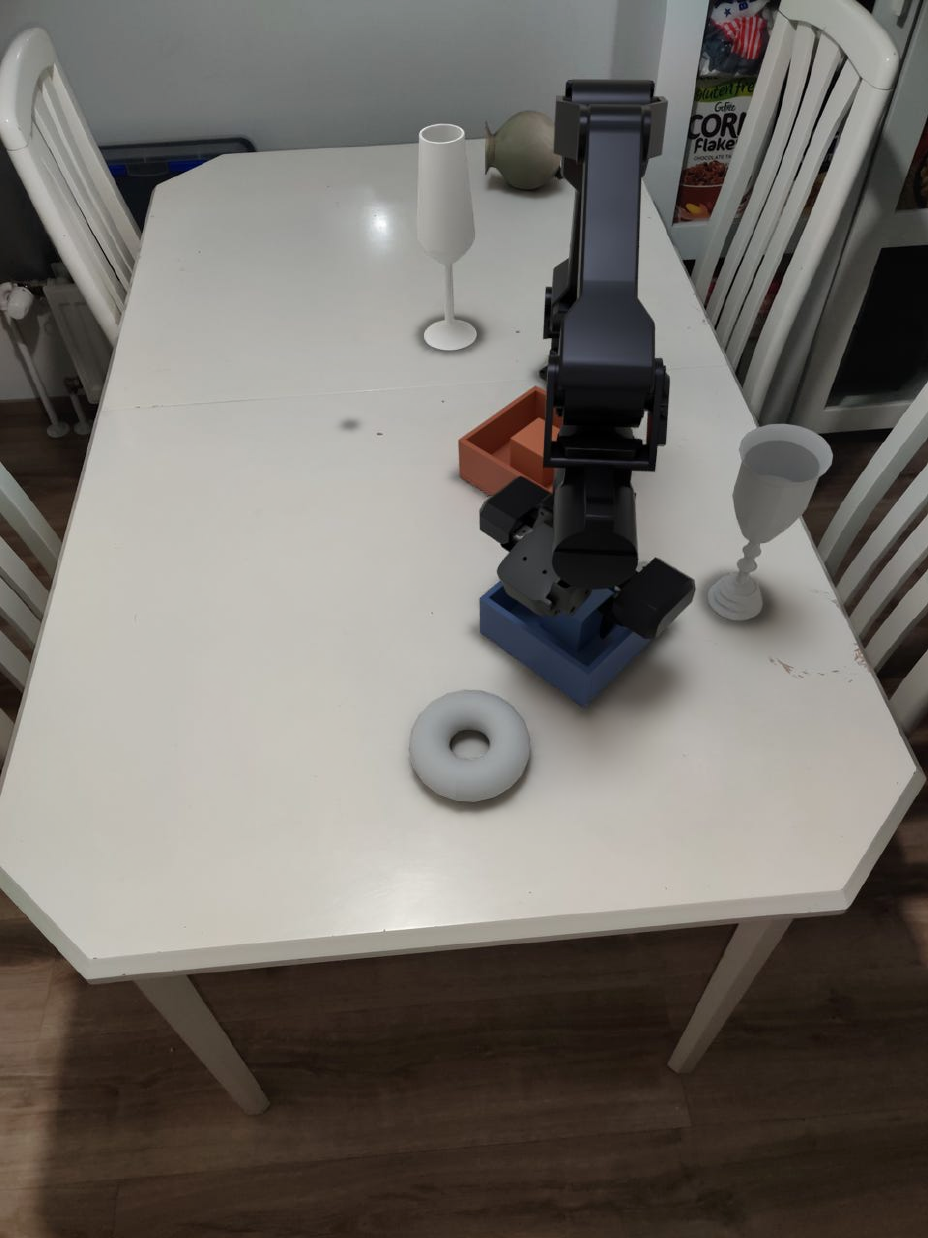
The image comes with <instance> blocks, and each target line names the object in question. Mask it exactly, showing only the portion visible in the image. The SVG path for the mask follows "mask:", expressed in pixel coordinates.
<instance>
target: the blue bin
mask: <svg viewBox="0 0 928 1238" xmlns="http://www.w3.org/2000/svg"><path fill="white" fill-rule="evenodd" d="M607 589H609V590H610V591H612V592H613V594H614V593H615V592H614V587H610V588H607ZM478 600H479V601H478V602H479V603H478V604H479V605H478V606H479V607H478V608H479V633H480V634H482V635H483V636H484V637H486V638H487V639H488V640H490V641H491V642H492V643H494V644H495V645H496V646H498V648H499V647H500V649H502V650H504V651H505V652H506V653H508V654H509V655H510V656H512V657H513V658H515V659H516V660H517V661H519V662H520V663H521V664H523V665H524V666H525V667H526V668H528V669H530V670H531V671H532V672H534V673H535V674H537V676H539V677H540V678H542V679H543V680H545V682H547V683H548V684H550V685H551V686H552V687H554V688H555V689H556V690H558V691H559V692H561V693H562V694H564V696H566V697H567V698H569V699H570V700H571V701H573V702H574V703H575V704H577V705H579V706H580V707H581V708H583V709H584V708H585V707H586V706H588V704H589V703H590V702H592V700H593V699H594V698H595V697H596V696H597V695H598V694H599V693H600V692H601V691H603V690H604V688H606V687H607V685H608V684H609V683H610V682H612V681H613V679H615V677H617V676H618V674H619V673H621V671H623V669H624V668H625V667H627V666H628V664H630V663H631V662H632V660H634V659H635V658H636V657H637V655H639V654H640V653H641V652H642V651H643V650H644V649H645V648H646V646H648V645H649V644H650V643H651V642H652V641H653V640H654V639H644V638H642V637H641V636H639V635H638V634H636V633H635V632H633V631H632V630H630V629H629V628H627V627H621V626H619V625H617V626H616V627H615V628H614V630H613V631H612V632H611V633H610V634H609V635H608V636H607V637H606V638H605V639H604V640H603V639H601V638H600V632H599V633H598V634H597V635H596V636H595V637H594V638H593V639H592V640H590V641H589V642H588V643H587V644H586V645H585V646H584V647H583V648H582V649H581V650H580V651H579V652H578V653H577V652H576V651H574V650H573V649H571V648H570V647H569V646H567V645H566V644H564V643H563V642H561V641H560V640H559V639H557V638H556V637H554V636H553V635H551V634H550V633H549V632H547V631H546V630H544V629H543V628H541V627H540V616H539V615H537V614H535V613H534V612H532V611H531V610H530V609H529V608H527V607H526V606H525V605H523V604H522V603H520V602H519V601H517V600H516V599H514V598H512V597H511V596H509V595H508V594H507V592H506V590H505V588H504V586H503V585H502V583H501V581H500V580H499V581H498V582H497V583H495V584H494V585H493V586H492V587H491V588H489V589H488V590H487V591H486V592H484V593H483V594H482V595H481V596H480V597H479V598H478Z"/></svg>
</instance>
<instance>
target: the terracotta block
mask: <svg viewBox="0 0 928 1238" xmlns="http://www.w3.org/2000/svg"><path fill="white" fill-rule="evenodd" d="M544 428H545V421H544V420H543V419H541V418H537V419H536V420H535V421H533V422H532V423H530V424H529V425H528V426H526V427H525V428H524V429H522V430H521V431H520V432H518V433H517V434H516V435H514V436H513V437H511V443H510V467H512V468H514V469H515V470H517V471H519V472H520V473H522V474H523V475H525V476H527V477H528V478H530V479H532V480H533V481H535V482H537V483H538V484H540V485H542V486H543V487H546V486H547V485H549V484H550V483H551V482H553V478H554V468H543V448H544ZM559 431H560V429H559V428H557V427H555V426H553V425H552V441H556V439H557V435H558V433H559Z"/></svg>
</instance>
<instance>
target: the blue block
mask: <svg viewBox="0 0 928 1238" xmlns="http://www.w3.org/2000/svg"><path fill="white" fill-rule="evenodd" d="M612 594H613V592H612V591H610V590H609V589H607V588H606V589H598V590H592V592H591V594H590V596H589V597H588V599H587V600H586V601H585V602H584V603H583V605H582V606H581V607H580V608H579V610H578V611H577V612H576V613H575V614H574V615H573V616H570V617H568V616H566V615H565V614H564V613H559V614H558V615H557V616H556V617H554V618H553V617H551V616H550V615H548V616H540V627H541V628H543V629H544V630H546V631H547V632H549V633H550V634H551V635H553V636H554V637H556V638H557V639H559V640H560V641H561V642H563V643H564V644H566V645H567V646H569V647H570V648H571V649H573V650H574V651H576V652H577V653H578V652H579V651H580V650H581V649H582V648H583V647H584V646H585V645H586V644H587V643H588V642H589V641H590V640H592V639H593V638H594V637H595V636H596V635H597V634H598V633H599V632H600V625H601V621H602V616H603V614H601V613H600V612H598V611H597V608H598V607H599V606H601V605H602V604H603V603H604V602H605V601H606V600H607V599H608V598H609V597H610V596H611V595H612Z"/></svg>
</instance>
